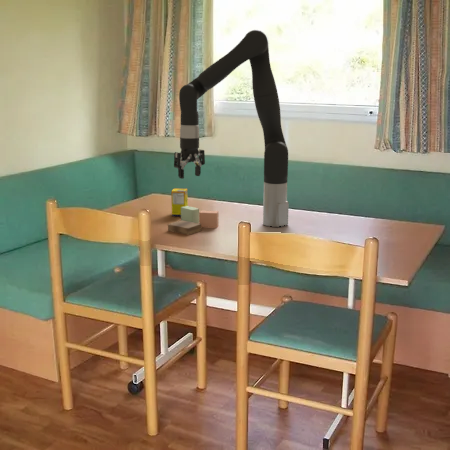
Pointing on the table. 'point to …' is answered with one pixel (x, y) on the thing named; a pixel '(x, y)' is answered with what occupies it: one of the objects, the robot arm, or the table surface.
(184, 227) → the walnut slab
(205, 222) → the terracotta brick
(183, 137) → the robot arm
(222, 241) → the table surface
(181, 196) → the supplement box
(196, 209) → the sage brick
